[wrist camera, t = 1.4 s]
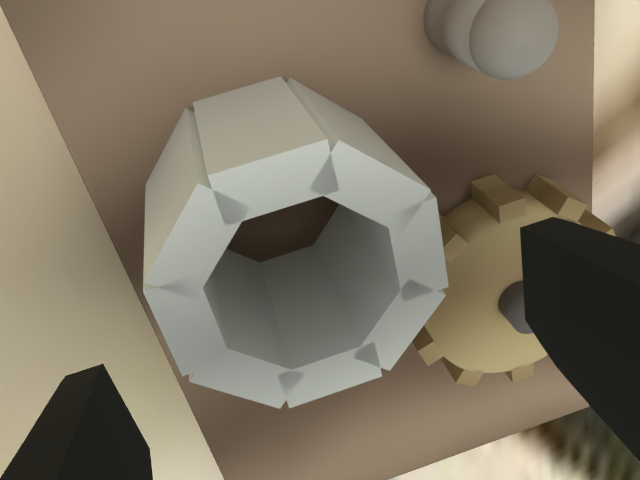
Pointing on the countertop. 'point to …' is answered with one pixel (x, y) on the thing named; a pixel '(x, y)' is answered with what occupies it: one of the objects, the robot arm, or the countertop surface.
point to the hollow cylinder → (292, 268)
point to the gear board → (312, 216)
